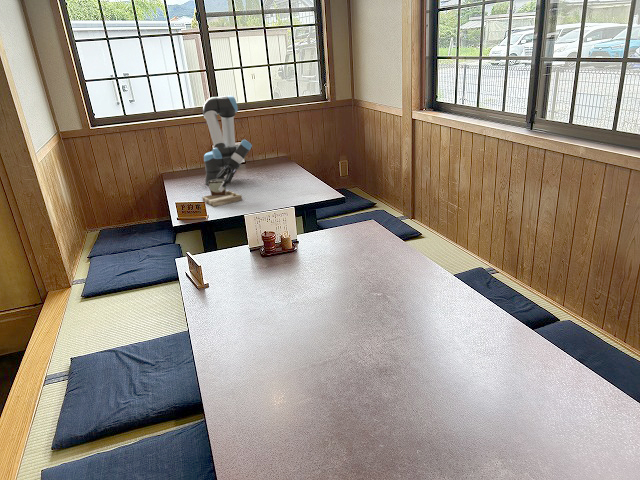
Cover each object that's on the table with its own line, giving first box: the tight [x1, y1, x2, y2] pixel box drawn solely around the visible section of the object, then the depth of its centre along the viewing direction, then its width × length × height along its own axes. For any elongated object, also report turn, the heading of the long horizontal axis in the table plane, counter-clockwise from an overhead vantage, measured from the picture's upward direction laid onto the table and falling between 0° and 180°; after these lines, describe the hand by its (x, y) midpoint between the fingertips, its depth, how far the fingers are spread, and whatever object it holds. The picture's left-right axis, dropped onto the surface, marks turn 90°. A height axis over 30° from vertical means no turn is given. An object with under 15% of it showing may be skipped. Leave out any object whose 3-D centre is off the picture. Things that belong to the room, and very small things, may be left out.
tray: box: [201, 190, 243, 208], centre depth 317 cm, size 18×20×3 cm
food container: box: [208, 179, 227, 196], centre depth 314 cm, size 12×6×10 cm, turn 86°
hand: (216, 189), depth 312 cm, fingers closed on food container, 10 cm apart
